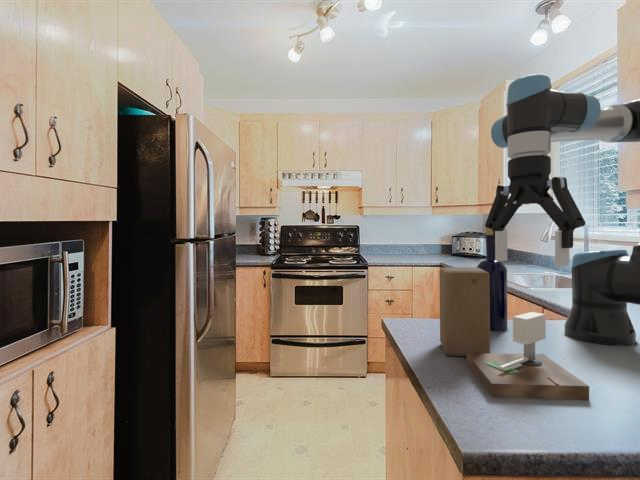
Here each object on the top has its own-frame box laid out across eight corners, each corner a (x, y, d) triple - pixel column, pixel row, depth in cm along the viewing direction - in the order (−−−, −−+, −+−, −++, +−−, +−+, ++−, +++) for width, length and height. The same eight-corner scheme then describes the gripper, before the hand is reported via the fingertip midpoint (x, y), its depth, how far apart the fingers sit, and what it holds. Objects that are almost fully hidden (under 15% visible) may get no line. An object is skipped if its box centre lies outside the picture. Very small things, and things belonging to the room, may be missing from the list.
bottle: (515, 331, 104) (514, 226, 103) (482, 332, 104) (481, 227, 104) (499, 323, 114) (499, 226, 113) (469, 323, 114) (469, 227, 113)
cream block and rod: (545, 357, 75) (545, 314, 75) (508, 372, 68) (507, 324, 68) (531, 353, 78) (531, 311, 77) (494, 367, 70) (493, 321, 70)
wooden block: (491, 359, 83) (490, 271, 83) (445, 357, 85) (444, 271, 85) (480, 345, 93) (480, 266, 93) (439, 343, 95) (438, 266, 94)
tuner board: (543, 365, 79) (543, 352, 79) (589, 399, 63) (589, 384, 63) (466, 363, 81) (466, 351, 81) (492, 396, 65) (491, 381, 65)
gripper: (609, 144, 63) (609, 267, 64) (492, 168, 86) (493, 258, 87) (580, 141, 60) (580, 270, 61) (467, 166, 83) (468, 259, 84)
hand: (529, 263), depth 74 cm, fingers open, 13 cm apart
